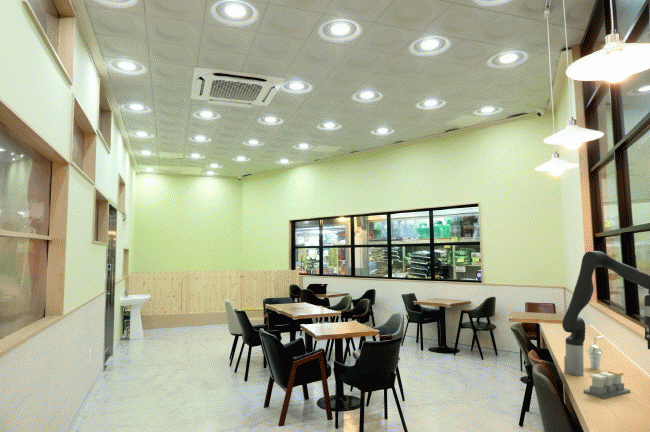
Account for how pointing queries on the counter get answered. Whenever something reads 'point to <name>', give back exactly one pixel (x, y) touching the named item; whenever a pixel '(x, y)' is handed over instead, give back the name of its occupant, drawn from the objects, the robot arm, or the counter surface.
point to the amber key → (616, 376)
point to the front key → (597, 380)
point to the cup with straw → (595, 355)
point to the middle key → (608, 378)
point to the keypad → (607, 391)
